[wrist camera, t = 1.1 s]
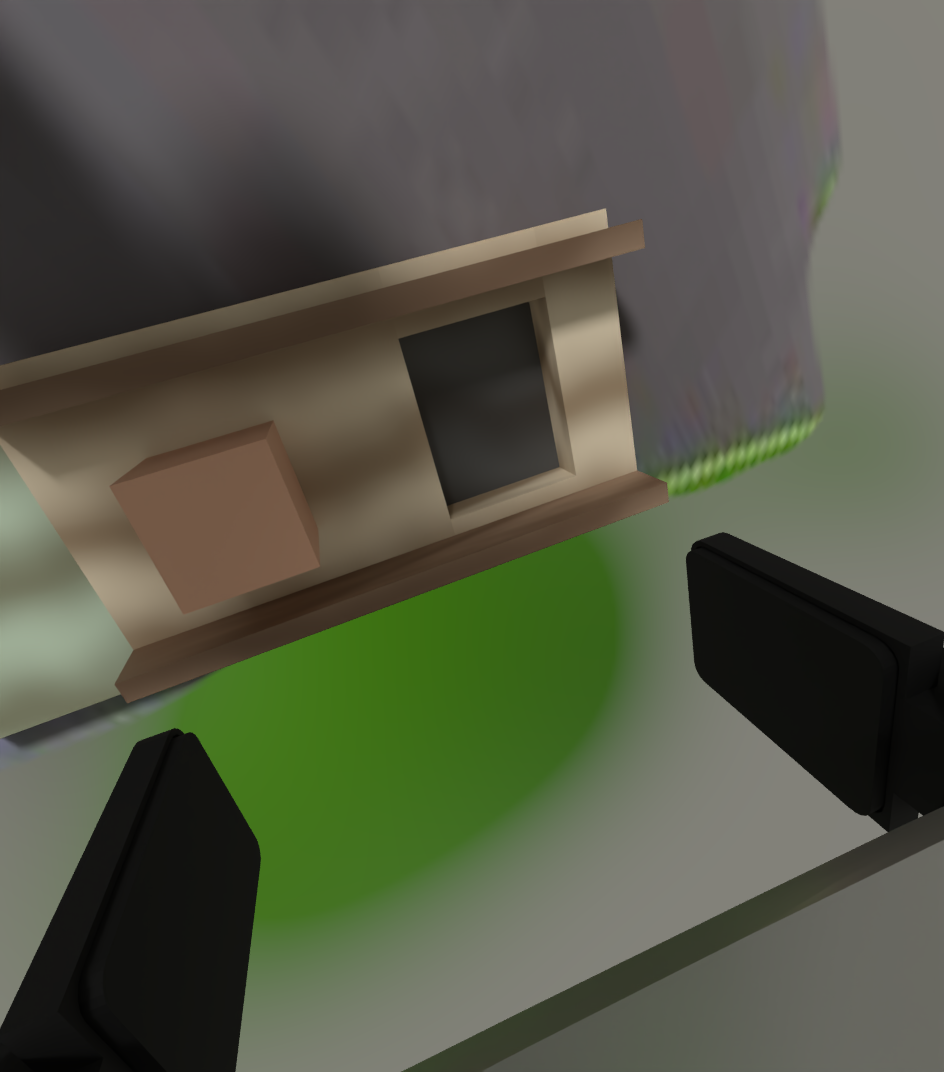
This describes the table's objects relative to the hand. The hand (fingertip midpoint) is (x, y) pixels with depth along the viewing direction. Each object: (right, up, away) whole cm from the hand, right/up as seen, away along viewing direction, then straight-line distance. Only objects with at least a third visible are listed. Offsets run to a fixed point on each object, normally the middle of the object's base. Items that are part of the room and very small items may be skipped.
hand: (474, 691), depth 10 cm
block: (-12, +5, +16) cm, 21 cm away
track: (-11, +6, +19) cm, 23 cm away
